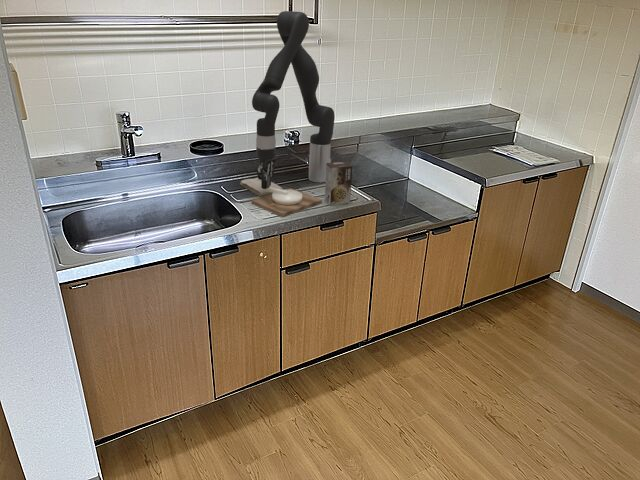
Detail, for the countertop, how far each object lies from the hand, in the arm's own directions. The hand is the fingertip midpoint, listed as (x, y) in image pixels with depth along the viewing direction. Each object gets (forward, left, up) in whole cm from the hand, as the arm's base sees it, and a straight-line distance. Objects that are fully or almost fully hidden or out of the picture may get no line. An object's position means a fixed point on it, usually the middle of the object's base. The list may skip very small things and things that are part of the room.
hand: (266, 186), depth 211 cm
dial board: (-3, +10, -5) cm, 11 cm away
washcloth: (-7, -11, -6) cm, 14 cm away
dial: (-2, +7, -3) cm, 8 cm away
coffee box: (-20, +22, -5) cm, 30 cm away
